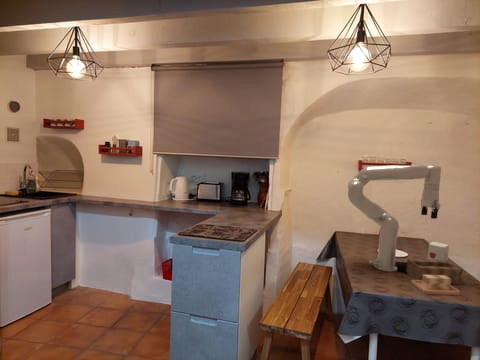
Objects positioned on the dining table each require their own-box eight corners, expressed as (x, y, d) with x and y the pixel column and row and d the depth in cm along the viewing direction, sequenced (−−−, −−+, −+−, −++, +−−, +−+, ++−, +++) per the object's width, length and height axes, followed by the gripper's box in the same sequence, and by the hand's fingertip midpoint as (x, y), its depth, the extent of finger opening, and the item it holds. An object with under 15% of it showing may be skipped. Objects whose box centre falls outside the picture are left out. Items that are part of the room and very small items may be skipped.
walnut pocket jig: (419, 282, 174) (420, 267, 173) (406, 272, 188) (407, 259, 187) (461, 284, 173) (462, 269, 173) (445, 274, 187) (446, 260, 187)
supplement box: (426, 267, 197) (428, 243, 196) (430, 264, 204) (432, 241, 202) (443, 271, 191) (445, 247, 190) (447, 268, 197) (449, 244, 196)
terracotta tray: (424, 293, 159) (424, 290, 159) (410, 283, 172) (410, 279, 172) (460, 295, 159) (461, 291, 159) (444, 284, 172) (444, 281, 172)
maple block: (426, 289, 163) (427, 277, 163) (421, 285, 168) (422, 274, 167) (450, 290, 163) (451, 278, 163) (444, 286, 168) (445, 275, 167)
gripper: (416, 185, 192) (414, 213, 194) (433, 188, 175) (430, 219, 177) (429, 185, 192) (426, 213, 194) (447, 189, 175) (444, 220, 177)
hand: (428, 216), depth 185 cm, fingers open, 9 cm apart
